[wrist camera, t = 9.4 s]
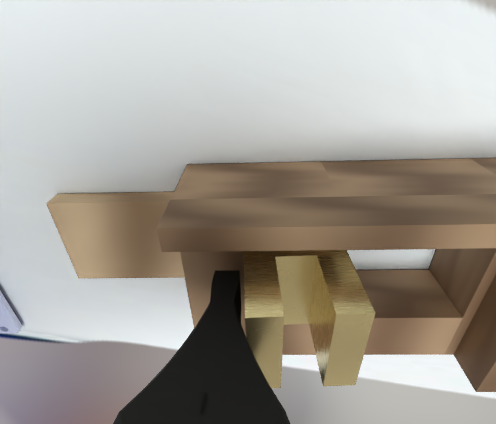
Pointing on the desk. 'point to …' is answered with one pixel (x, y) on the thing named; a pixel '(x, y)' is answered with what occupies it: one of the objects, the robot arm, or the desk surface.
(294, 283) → the clip
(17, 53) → the desk surface
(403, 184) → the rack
